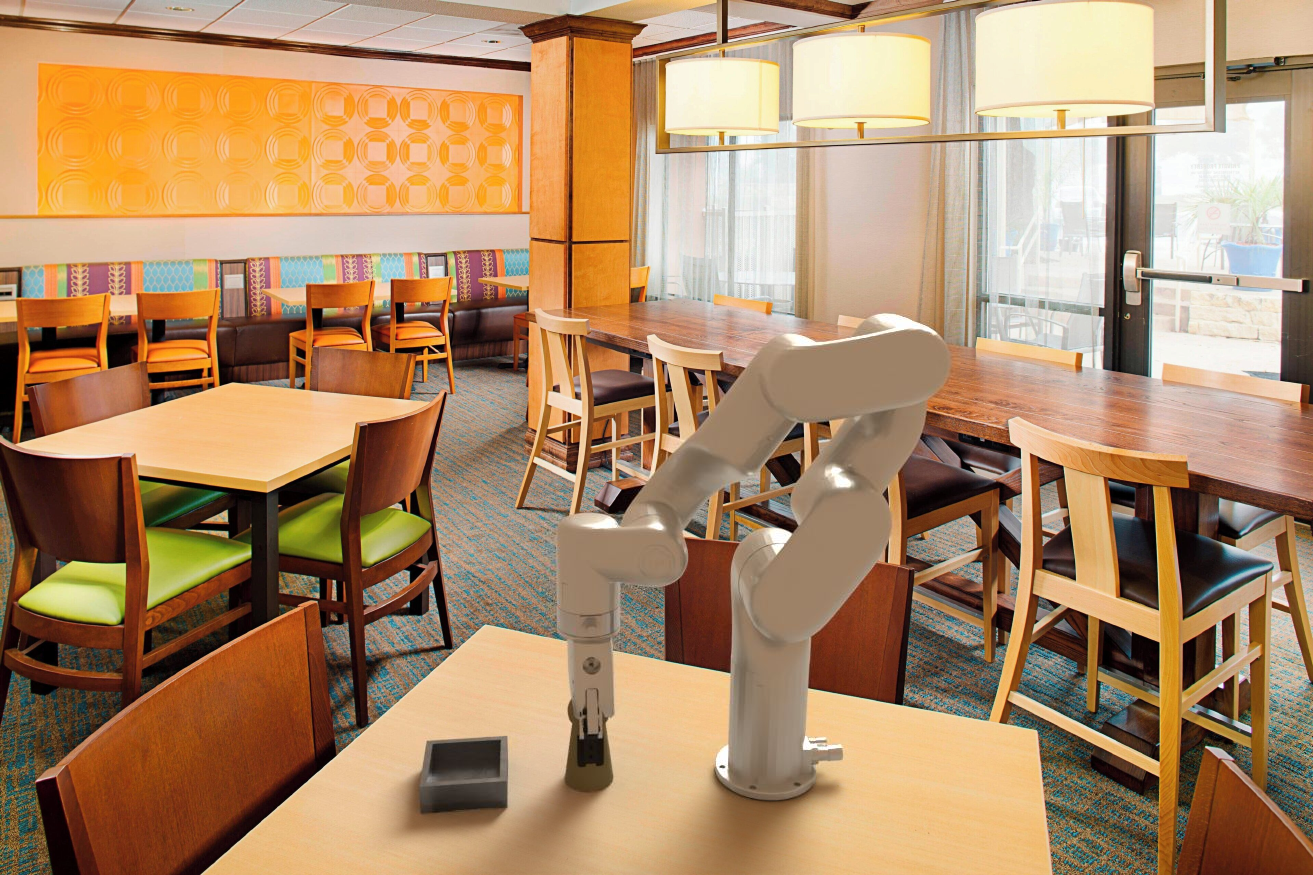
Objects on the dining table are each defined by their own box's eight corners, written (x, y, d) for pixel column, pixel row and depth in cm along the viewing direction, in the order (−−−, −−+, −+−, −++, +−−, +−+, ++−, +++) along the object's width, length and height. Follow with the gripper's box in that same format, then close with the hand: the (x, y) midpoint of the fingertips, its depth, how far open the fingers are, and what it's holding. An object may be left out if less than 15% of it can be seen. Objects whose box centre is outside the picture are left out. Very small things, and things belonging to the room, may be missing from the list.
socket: (507, 760, 126) (507, 735, 125) (507, 807, 116) (506, 780, 115) (427, 765, 124) (426, 740, 123) (420, 813, 115) (419, 786, 114)
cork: (613, 763, 125) (614, 684, 123) (613, 791, 119) (613, 709, 117) (566, 763, 125) (565, 684, 122) (563, 791, 119) (562, 709, 117)
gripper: (627, 646, 110) (626, 792, 114) (613, 588, 126) (612, 718, 130) (560, 649, 109) (561, 796, 113) (554, 591, 125) (555, 722, 129)
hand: (589, 753), depth 121 cm, fingers closed on cork, 3 cm apart
